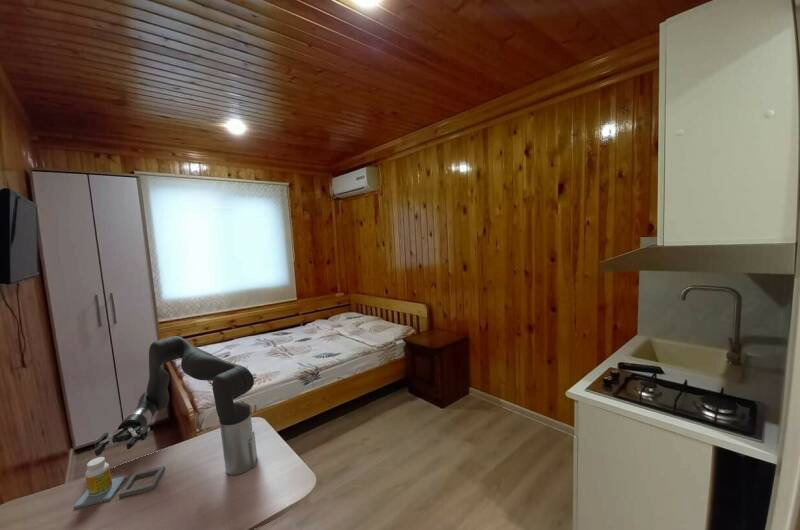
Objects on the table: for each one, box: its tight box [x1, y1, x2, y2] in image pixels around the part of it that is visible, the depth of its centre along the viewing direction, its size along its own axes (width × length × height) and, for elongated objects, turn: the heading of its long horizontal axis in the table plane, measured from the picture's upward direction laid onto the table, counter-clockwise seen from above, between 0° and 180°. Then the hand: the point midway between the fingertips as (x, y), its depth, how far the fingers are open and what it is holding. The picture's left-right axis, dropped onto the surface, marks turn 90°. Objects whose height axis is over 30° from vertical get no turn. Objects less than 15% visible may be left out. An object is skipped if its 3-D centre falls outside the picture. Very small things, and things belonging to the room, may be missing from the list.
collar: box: [118, 465, 166, 498], centre depth 103 cm, size 9×9×1 cm
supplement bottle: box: [84, 456, 113, 497], centre depth 100 cm, size 5×5×10 cm
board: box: [73, 475, 127, 510], centre depth 100 cm, size 9×9×1 cm
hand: (112, 450), depth 108 cm, fingers open, 8 cm apart
